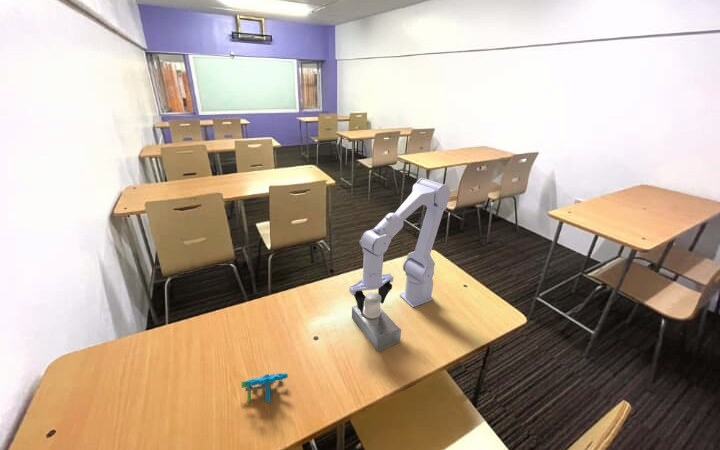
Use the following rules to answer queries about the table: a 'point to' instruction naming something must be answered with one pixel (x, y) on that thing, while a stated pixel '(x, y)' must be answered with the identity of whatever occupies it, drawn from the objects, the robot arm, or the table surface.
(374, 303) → the white cabinet knob
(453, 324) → the table surface
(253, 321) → the table surface
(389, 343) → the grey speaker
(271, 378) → the blue legged part
